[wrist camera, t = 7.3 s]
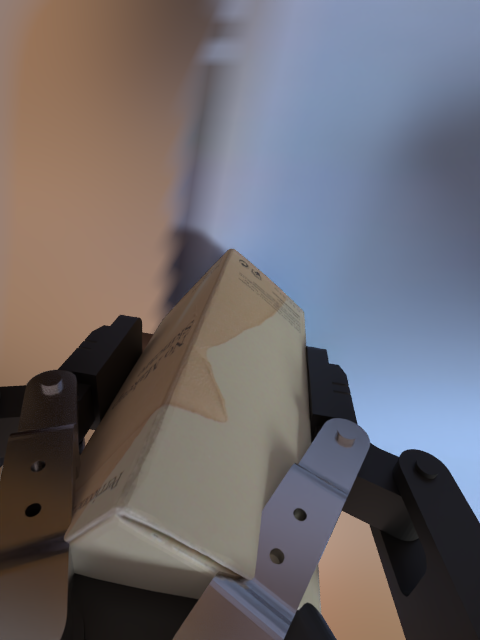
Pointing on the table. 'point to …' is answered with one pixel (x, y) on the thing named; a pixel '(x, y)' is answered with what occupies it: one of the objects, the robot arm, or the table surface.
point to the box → (197, 440)
